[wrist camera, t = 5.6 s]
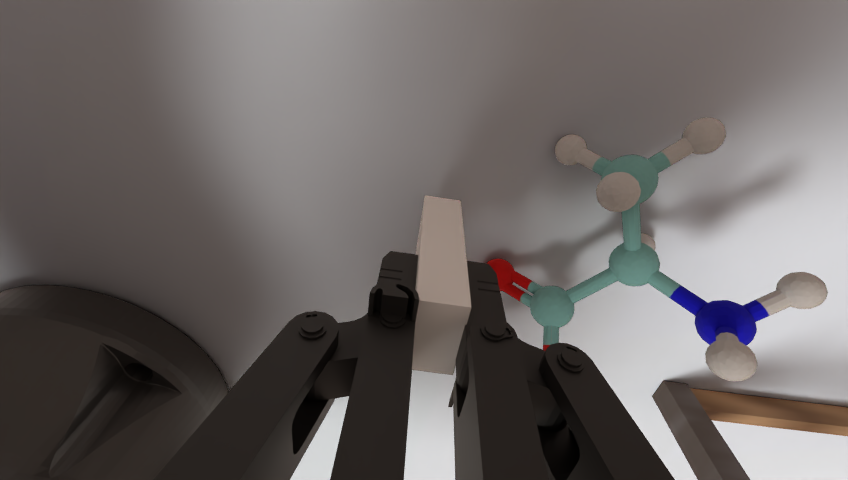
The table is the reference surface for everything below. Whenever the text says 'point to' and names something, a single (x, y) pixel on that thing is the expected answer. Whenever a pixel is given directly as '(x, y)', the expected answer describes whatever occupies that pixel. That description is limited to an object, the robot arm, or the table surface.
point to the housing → (704, 443)
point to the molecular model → (639, 262)
